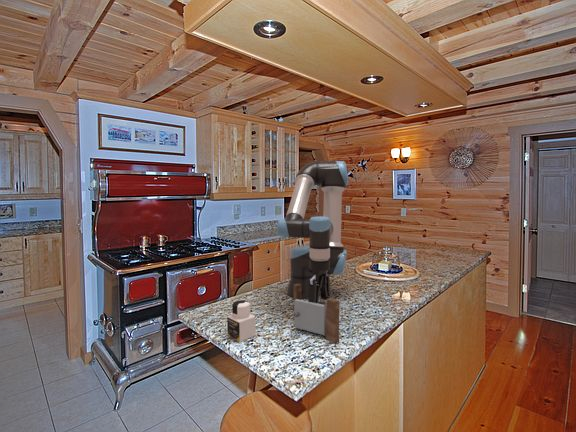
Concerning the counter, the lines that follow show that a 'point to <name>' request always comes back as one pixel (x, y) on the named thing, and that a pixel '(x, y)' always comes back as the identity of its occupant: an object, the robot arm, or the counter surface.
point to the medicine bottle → (241, 321)
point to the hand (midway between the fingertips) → (319, 319)
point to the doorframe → (331, 315)
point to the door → (310, 316)
